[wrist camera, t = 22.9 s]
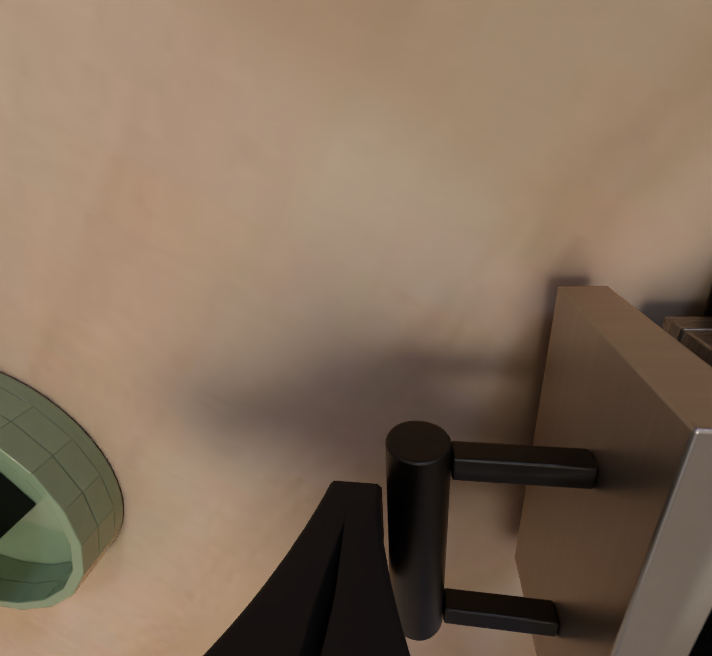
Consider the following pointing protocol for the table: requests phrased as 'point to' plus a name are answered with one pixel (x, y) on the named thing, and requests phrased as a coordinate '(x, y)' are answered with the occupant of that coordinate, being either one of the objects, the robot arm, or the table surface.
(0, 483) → the iron block
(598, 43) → the table surface
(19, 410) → the dish
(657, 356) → the drawer
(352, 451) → the table surface
